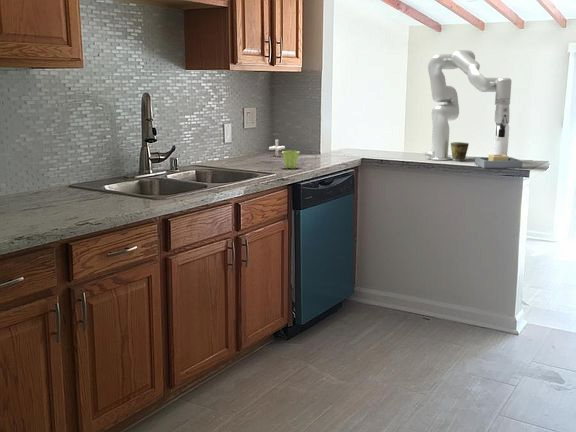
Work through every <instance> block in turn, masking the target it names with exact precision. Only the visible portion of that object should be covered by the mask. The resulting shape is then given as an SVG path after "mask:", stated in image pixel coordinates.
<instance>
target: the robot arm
mask: <svg viewBox="0 0 576 432" xmlns="http://www.w3.org/2000/svg"><path fill="white" fill-rule="evenodd" d="M455 69H459V70H461V71H462V72H463V73H464V74H465V75H466V76H467V78H468V80H469V82H470V84H471V85H472V86H473V87H474V88H475V89H477V90H478V91H479V92H481V93H495V98H494V99H495V100H494V105H495V110H494V111H495V112H494V123H495V125H496V136H497V124H500V130H499V135H498V137H505V127H506V125H507V124H508V125H509V124H510V105H511V92H512V91H511V90H512V79H511V78H510V77H500V78H498V77H485V76H484V75H483V74H482V73H480V69H481V64H480V63H479V62H478V61H477V60H476V55H475V53H474V52H473V51H472V50H470V49H469V50H468V49H459V50H456V51H454V52H453V53H452V54H451V53H438V54H434V56H432V57H431V58H430V59H429V62H428V64H427V72H428V76H429V82H430V90H431V97H432V100H433V102H436V103H443V104H438V105H435V106H434V107H433V109H432V111H431V120H432V137H431V150H430V151H428V152H427V151H426V152H423V153H422V154H423V156H425V157H427V156H428V160H434V161H449V160H451V157H452V156H449V145H450V143H449V142H450V125H449V122H451V121H455V120H457V118H459V115H460V105H459V97H458V91H457V90H456V88H455V87H454V86H452V85H447V83H446V76H445V73H444V72H443V70H455ZM502 123H503V124H502ZM501 125H502V126H501Z"/></svg>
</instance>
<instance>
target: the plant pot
mask: <svg viewBox="0 0 576 432" xmlns="http://www.w3.org/2000/svg"><path fill="white" fill-rule="evenodd" d="M281 154H282V156H283V162H284V167H285V169H288V168H289V169H292V168H293V169H297V166H298V157H299V154H300V151H297V150H285V151H283V150H282V152H281Z"/></svg>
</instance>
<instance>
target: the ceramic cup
mask: <svg viewBox="0 0 576 432" xmlns="http://www.w3.org/2000/svg"><path fill="white" fill-rule="evenodd" d="M450 149H451V157H452V161H453V160H454V161H453V162H464V160H465V161H466V157H467V153H468V149H469V142H461V141H460V142H458V141H457V142H450Z"/></svg>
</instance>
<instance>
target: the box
mask: <svg viewBox="0 0 576 432" xmlns="http://www.w3.org/2000/svg"><path fill="white" fill-rule="evenodd" d="M475 164H476V165H475ZM474 165H475V166H477V165H478V166H477V167H480V168H481V169H484V170H485V169H488V170H491V169H492V170H493V169H494V170H495V169H498V170H499V169H500V170H501V169H502V170H503V169H504V170H506V169H505V168H522V169H523V160H520V159H517V158H516V157H515V158H514V157H512V156H508V155H507V156H506V155H493V154H488V156H486V157H485V156H484V157H480V156H477V157H475V158H474Z"/></svg>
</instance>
